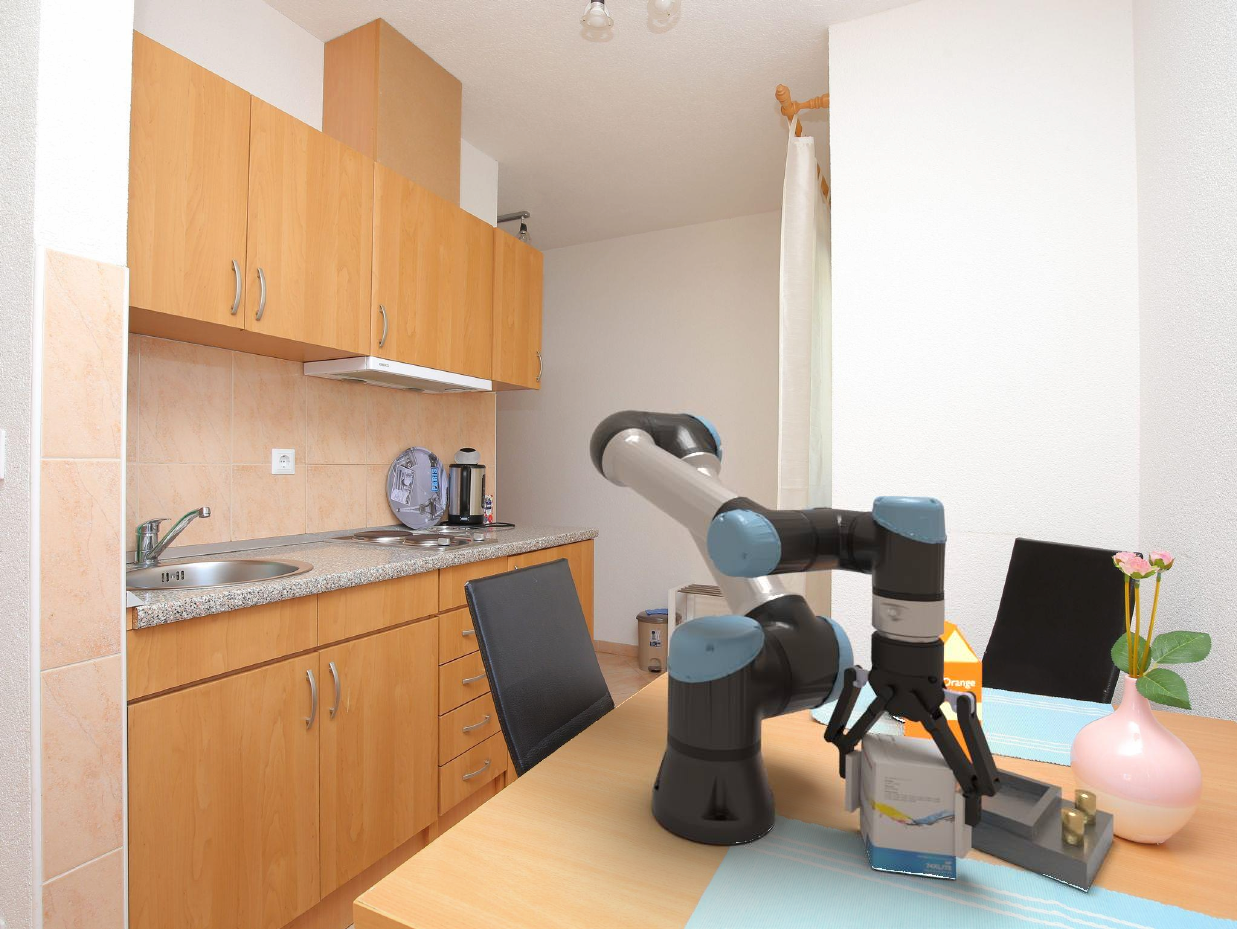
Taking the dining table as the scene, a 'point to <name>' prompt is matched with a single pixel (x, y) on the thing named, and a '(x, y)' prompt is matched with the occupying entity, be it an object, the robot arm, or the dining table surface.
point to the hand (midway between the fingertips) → (904, 829)
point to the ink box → (907, 805)
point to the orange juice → (955, 682)
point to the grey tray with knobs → (1044, 829)
